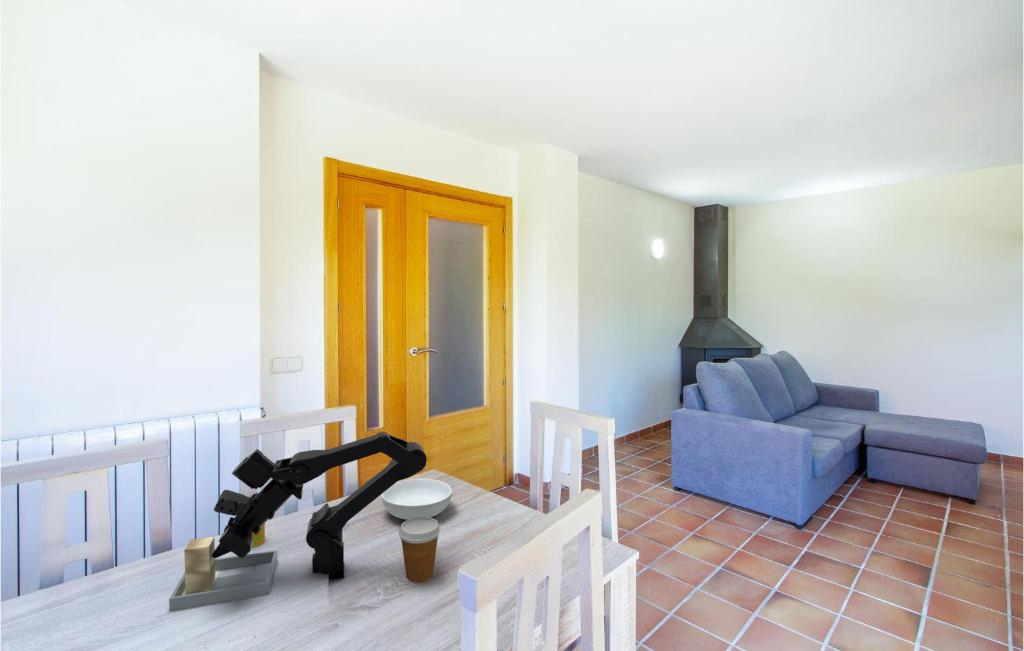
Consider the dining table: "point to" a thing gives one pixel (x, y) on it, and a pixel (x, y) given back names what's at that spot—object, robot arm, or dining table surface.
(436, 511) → the serving bowl
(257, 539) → the supplement bottle
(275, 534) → the dining table surface
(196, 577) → the maple post
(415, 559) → the disposable coffee cup
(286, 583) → the dining table surface
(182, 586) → the box
